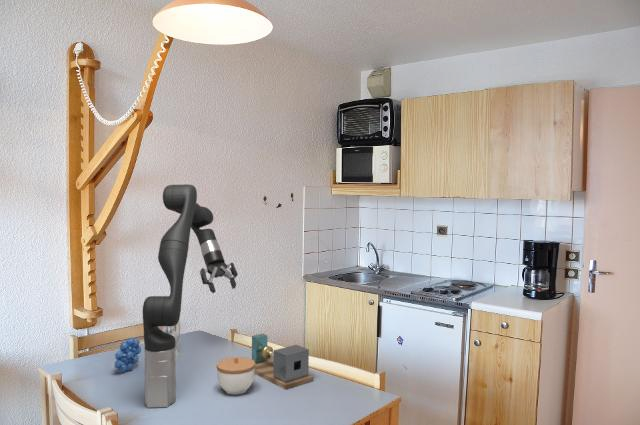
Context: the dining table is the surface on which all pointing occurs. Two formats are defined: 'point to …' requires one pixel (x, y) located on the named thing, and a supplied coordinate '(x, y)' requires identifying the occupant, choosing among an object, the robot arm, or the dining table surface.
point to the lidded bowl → (235, 374)
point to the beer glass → (173, 333)
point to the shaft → (261, 348)
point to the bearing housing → (291, 363)
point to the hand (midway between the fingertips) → (224, 290)
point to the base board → (267, 372)
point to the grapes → (127, 355)
